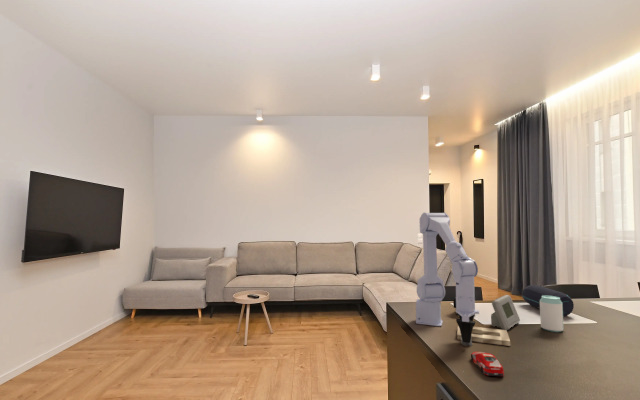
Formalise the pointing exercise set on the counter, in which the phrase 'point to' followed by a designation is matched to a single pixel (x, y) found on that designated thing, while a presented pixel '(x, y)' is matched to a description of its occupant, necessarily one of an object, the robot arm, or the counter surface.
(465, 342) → the peg
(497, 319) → the digital clock
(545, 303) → the can
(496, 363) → the race car
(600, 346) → the counter surface
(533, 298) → the portable speaker
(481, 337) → the keyhole board
